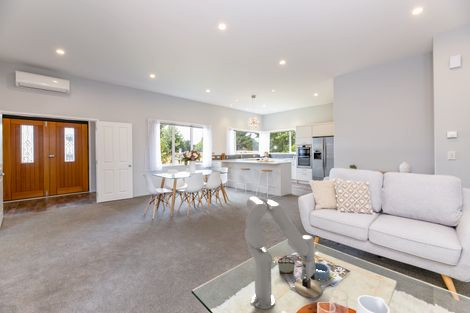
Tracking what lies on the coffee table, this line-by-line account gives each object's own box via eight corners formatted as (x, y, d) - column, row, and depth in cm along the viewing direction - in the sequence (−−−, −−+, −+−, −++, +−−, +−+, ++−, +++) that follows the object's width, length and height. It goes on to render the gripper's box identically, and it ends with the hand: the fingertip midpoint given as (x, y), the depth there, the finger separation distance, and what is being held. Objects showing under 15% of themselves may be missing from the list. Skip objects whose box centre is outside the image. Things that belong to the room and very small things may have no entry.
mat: (315, 303, 120) (315, 302, 120) (289, 290, 131) (289, 289, 131) (326, 288, 132) (326, 287, 132) (301, 278, 143) (301, 276, 143)
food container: (294, 270, 151) (293, 257, 151) (295, 275, 145) (295, 261, 145) (276, 270, 153) (276, 256, 152) (277, 275, 146) (277, 261, 146)
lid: (315, 302, 120) (315, 292, 120) (289, 289, 131) (289, 280, 131) (326, 287, 132) (326, 278, 131) (301, 276, 143) (301, 268, 142)
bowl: (325, 284, 136) (325, 275, 135) (307, 276, 144) (307, 268, 144) (332, 275, 144) (332, 267, 144) (314, 268, 153) (314, 260, 152)
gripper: (307, 264, 121) (308, 293, 122) (319, 252, 134) (320, 278, 135) (295, 260, 126) (296, 287, 128) (308, 248, 139) (308, 273, 140)
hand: (308, 282), depth 131 cm, fingers open, 9 cm apart
